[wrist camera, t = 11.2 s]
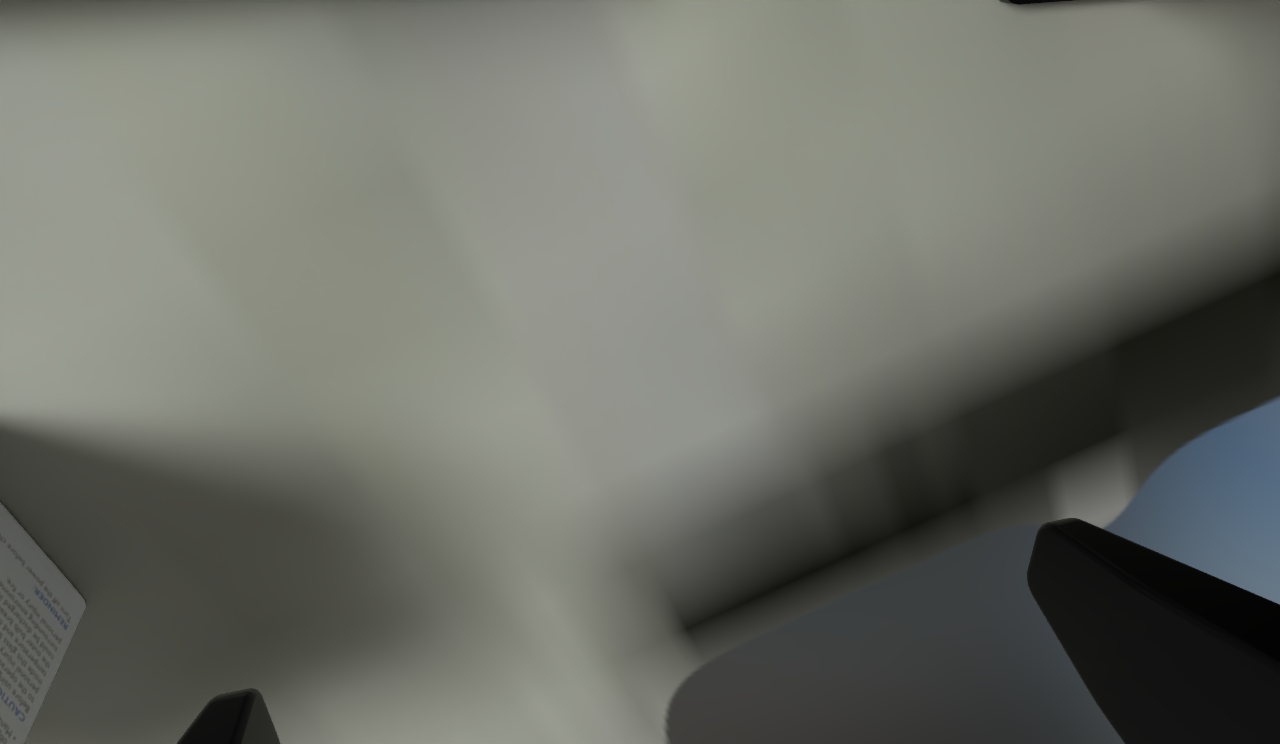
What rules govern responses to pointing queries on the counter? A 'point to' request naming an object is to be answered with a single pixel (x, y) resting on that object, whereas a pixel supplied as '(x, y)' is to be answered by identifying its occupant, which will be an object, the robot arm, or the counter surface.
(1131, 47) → the counter surface
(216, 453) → the counter surface
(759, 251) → the counter surface
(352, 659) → the counter surface
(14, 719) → the light bulb box
